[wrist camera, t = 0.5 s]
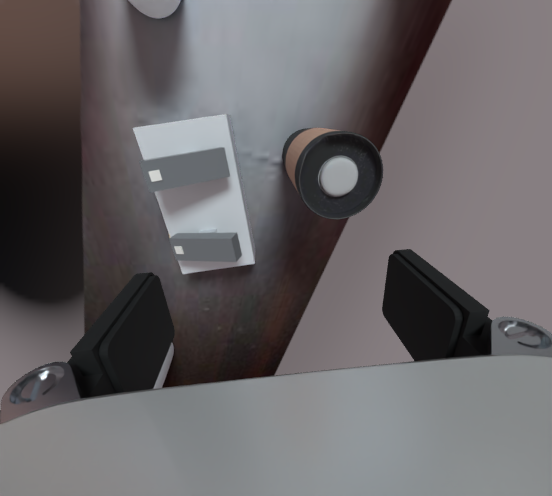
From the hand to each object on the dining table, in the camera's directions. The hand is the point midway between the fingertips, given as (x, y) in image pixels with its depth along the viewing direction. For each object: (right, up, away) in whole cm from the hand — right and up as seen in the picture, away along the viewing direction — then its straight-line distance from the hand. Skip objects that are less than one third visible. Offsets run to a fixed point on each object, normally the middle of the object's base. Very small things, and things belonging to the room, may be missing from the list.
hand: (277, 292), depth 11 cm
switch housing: (-11, +10, +32) cm, 35 cm away
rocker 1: (-11, +12, +23) cm, 28 cm away
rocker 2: (-10, +2, +28) cm, 29 cm away
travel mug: (+4, +16, +30) cm, 34 cm away
